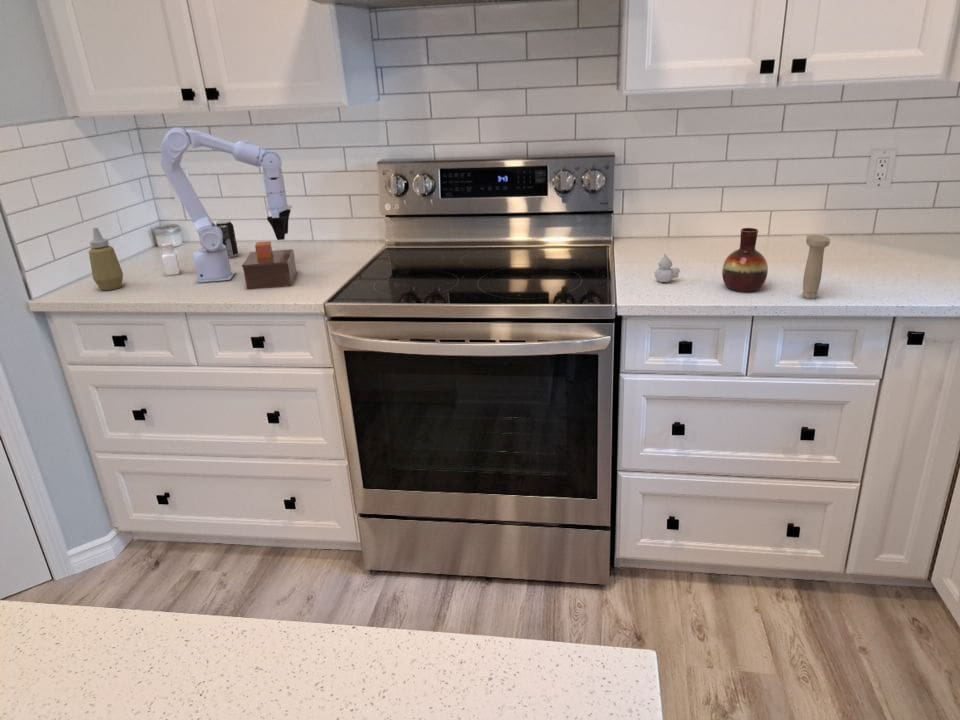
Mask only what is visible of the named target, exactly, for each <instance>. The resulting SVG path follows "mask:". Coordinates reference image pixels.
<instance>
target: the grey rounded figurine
mask: <svg viewBox="0 0 960 720" xmlns="http://www.w3.org/2000/svg"><path fill="white" fill-rule="evenodd" d="M657 265H658V268H657V269H656V270H655V271H654V278H655V279H656V280H657V281H658V282H660V283H669V282H670V281H672V280H673V279H677V278H679V273H680V271H681V269H680V268H678V267H673V262H672V260H671V258H669V257H668V256H667V254H666V253H664V256H663V257H662V258H661V259H660V261H659V262H658V263H657Z"/></svg>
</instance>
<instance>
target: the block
mask: <svg viewBox="0 0 960 720" xmlns="http://www.w3.org/2000/svg"><path fill="white" fill-rule="evenodd" d="M254 248H255V252H256V254H257V259H265V258H272V255H273V253H272V251H273V248H272V242H271V241H269V240H268V241H257V242H256V243H255V245H254Z"/></svg>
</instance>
